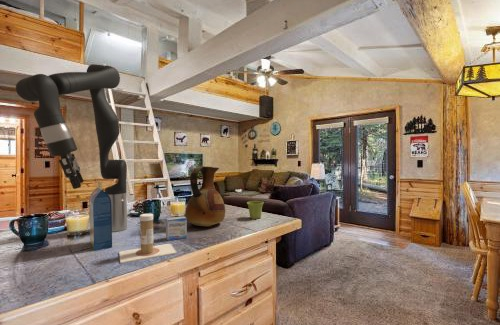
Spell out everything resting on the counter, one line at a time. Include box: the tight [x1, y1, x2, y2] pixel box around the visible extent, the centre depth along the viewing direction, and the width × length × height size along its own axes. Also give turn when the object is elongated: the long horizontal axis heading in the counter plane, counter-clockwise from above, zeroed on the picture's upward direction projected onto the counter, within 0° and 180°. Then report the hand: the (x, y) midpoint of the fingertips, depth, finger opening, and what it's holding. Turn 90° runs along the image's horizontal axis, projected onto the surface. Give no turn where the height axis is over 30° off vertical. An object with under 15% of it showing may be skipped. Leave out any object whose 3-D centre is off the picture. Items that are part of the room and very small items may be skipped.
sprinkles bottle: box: [139, 213, 154, 254], centre depth 93 cm, size 5×5×14 cm
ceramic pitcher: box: [184, 165, 226, 227], centre depth 133 cm, size 20×20×30 cm
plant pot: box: [246, 200, 265, 220], centre depth 147 cm, size 9×9×9 cm
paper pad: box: [118, 243, 178, 264], centre depth 94 cm, size 11×18×1 cm, turn 118°
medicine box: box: [165, 216, 188, 242], centre depth 111 cm, size 8×4×9 cm, turn 117°
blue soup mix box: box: [88, 180, 113, 251], centre depth 103 cm, size 6×12×25 cm, turn 37°
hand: (79, 185), depth 89 cm, fingers open, 8 cm apart
